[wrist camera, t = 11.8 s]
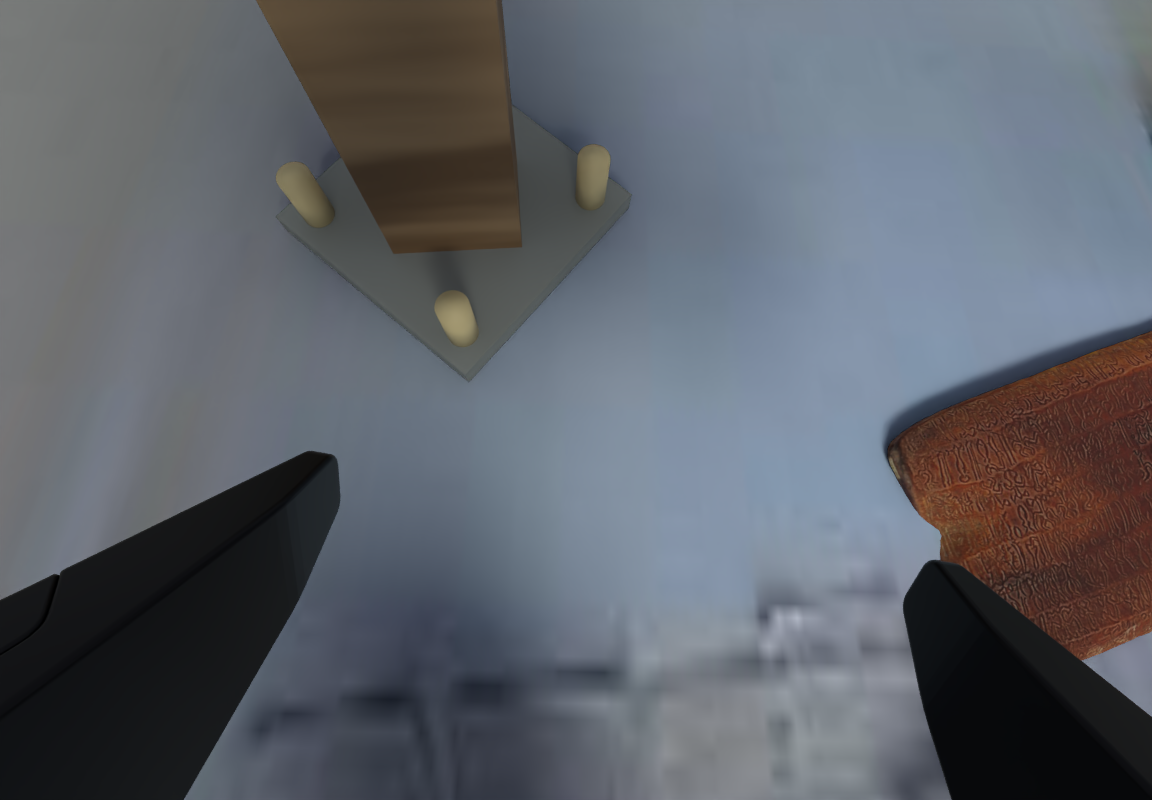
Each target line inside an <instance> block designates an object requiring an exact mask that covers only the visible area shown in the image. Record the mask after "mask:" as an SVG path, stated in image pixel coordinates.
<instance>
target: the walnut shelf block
mask: <svg viewBox="0 0 1152 800" xmlns="http://www.w3.org/2000/svg"><path fill="white" fill-rule="evenodd" d="M256 1H257V3H258V5H259V7H260V8H261V10H262V12H263V14H264V16H265V18H266V19H267V21H268V23H269V25H270V27H271V29H272V31H273V32H274V34H275V36H276V38H277V40H278V42H279V43H280V45H281V47H282V49H283V51H284V53H285V55H286V56H287V58H288V60H289V62H290V64H291V66H292V67H293V69H294V71H295V73H296V75H297V77H298V79H299V80H300V82H301V84H302V86H303V88H304V90H305V91H306V93H307V95H308V97H309V99H310V101H311V102H312V104H313V106H314V108H315V110H316V112H317V114H318V115H319V117H320V119H321V121H322V123H323V125H324V126H325V128H326V130H327V132H328V134H329V136H330V138H331V139H332V141H333V143H334V145H335V147H336V149H337V150H338V152H339V154H340V156H341V158H342V160H343V161H344V163H345V165H346V167H347V169H348V171H349V173H350V174H351V176H352V178H353V180H354V182H355V184H356V185H357V187H358V189H359V191H360V193H361V195H362V197H363V198H364V200H365V202H366V204H367V206H368V208H369V209H370V211H371V213H372V215H373V217H374V219H375V220H376V222H377V224H378V226H379V228H380V230H381V232H382V233H383V235H384V237H385V239H386V241H387V243H388V244H389V246H390V248H391V250H392V252H393V254H402V253H421V252H440V251H460V250H479V249H499V248H518V247H522V238H521V221H520V204H519V188H518V171H517V156H516V145H515V135H514V124H513V114H512V103H511V93H510V82H509V72H508V62H507V51H506V41H505V30H504V20H503V9H502V0H256Z"/></svg>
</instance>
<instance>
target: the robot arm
mask: <svg viewBox="0 0 1152 800" xmlns="http://www.w3.org/2000/svg"><path fill="white" fill-rule="evenodd" d="M339 505H340V484H339V470H338V461H337V459H336V457H335V456H333V455H332V454H326V453H321V452H315V451H307V452H304V453H302V454H300V455H298V456H296V457H294V458H292V459H290V460H288V461H285V462H283V463H281V464H279V465H277V466H275V467H273V468H271V469H269V470H267V471H265V472H263V473H261V474H259V475H257V476H255V477H253V478H251V479H249V480H247V481H244V482H242V483H240V484H238V485H236V486H234V487H232V488H230V489H228V490H226V491H224V492H222V493H220V494H218V495H216V496H214V497H212V498H210V499H208V500H205V501H203V502H201V503H199V504H197V505H195V506H193V507H191V508H189V509H187V510H185V511H183V512H181V513H179V514H177V515H175V516H173V517H171V518H169V519H167V520H164V521H162V522H160V523H158V524H156V525H154V526H152V527H150V528H148V529H146V530H144V531H142V532H140V533H138V534H136V535H134V536H132V537H130V538H128V539H126V540H123V541H121V542H119V543H117V544H115V545H113V546H111V547H109V548H107V549H105V550H103V551H101V552H99V553H97V554H95V555H93V556H91V557H89V558H87V559H84V560H82V561H80V562H78V563H76V564H74V565H72V566H70V567H68V568H66V569H64V570H62V571H61V573H60V575H57V574H54V575H51V576H49V577H47V578H45V579H43V580H41V581H39V582H37V583H35V584H33V585H31V586H29V587H27V588H25V589H23V590H21V591H18V592H16V593H14V594H12V595H10V596H8V597H6V598H3V599H1V600H0V800H184V798H185V797H186V795H187V793H188V791H189V790H190V788H191V786H192V784H193V783H194V781H195V779H196V778H197V776H198V774H199V772H200V771H201V769H202V767H203V765H204V764H205V762H206V760H207V759H208V757H209V755H210V753H211V752H212V750H213V748H214V746H215V745H216V743H217V741H218V740H219V738H220V736H221V734H222V733H223V731H224V729H225V727H226V726H227V724H228V722H229V721H230V719H231V717H232V715H233V714H234V712H235V710H236V708H237V707H238V705H239V703H240V701H241V700H242V698H243V696H244V695H245V693H246V691H247V689H248V688H249V686H250V684H251V682H252V681H253V679H254V677H255V676H256V674H257V672H258V670H259V669H260V667H261V665H262V663H263V662H264V660H265V658H266V657H267V655H268V653H269V651H270V650H271V648H272V646H273V644H274V643H275V641H276V639H277V638H278V636H279V634H280V632H281V631H282V629H283V627H284V625H285V624H286V622H287V620H288V618H289V617H290V615H291V613H292V611H293V610H294V608H295V606H296V604H297V602H298V600H299V598H300V596H301V594H302V592H303V590H304V588H305V585H306V583H307V581H308V579H309V576H310V574H311V572H312V569H313V567H314V565H315V563H316V560H317V558H318V556H319V553H320V551H321V549H322V546H323V544H324V542H325V540H326V537H327V535H328V533H329V530H330V528H331V526H332V523H333V521H334V519H335V517H336V514H337V512H338V509H339ZM903 613H904V618H905V623H906V628H907V633H908V638H909V642H910V647H911V652H912V657H913V662H914V667H915V672H916V677H917V682H918V687H919V691H920V696H921V700H922V704H923V708H924V712H925V716H926V719H927V723H928V726H929V729H930V733H931V736H932V739H933V742H934V745H935V748H936V752H937V755H938V758H939V761H940V764H941V767H942V771H943V774H944V777H945V780H946V783H947V787H948V790H949V793H950V796H951V799H952V800H1152V717H1151V716H1150V715H1149V714H1147V713H1146V712H1145V711H1144V710H1142V709H1141V708H1140V707H1139V706H1137V705H1136V704H1135V703H1134V702H1132V701H1131V700H1130V699H1129V698H1127V697H1126V696H1125V695H1124V694H1122V693H1121V692H1120V691H1118V690H1117V689H1116V688H1115V687H1113V686H1112V685H1111V684H1110V683H1108V682H1107V681H1106V680H1105V679H1103V678H1102V677H1101V676H1100V675H1098V674H1097V673H1096V672H1095V671H1093V670H1092V669H1091V668H1090V667H1088V666H1087V665H1086V664H1085V663H1083V662H1082V661H1081V660H1080V659H1078V658H1077V657H1076V656H1075V655H1073V654H1072V653H1071V652H1070V651H1068V650H1067V649H1066V648H1065V647H1063V646H1062V645H1061V644H1060V643H1058V642H1057V641H1056V640H1054V639H1053V638H1052V637H1051V636H1049V635H1048V634H1047V633H1046V632H1044V631H1043V630H1042V629H1041V628H1039V627H1038V626H1037V625H1036V624H1034V623H1033V622H1032V621H1031V620H1029V619H1028V618H1027V617H1026V616H1024V615H1023V614H1022V613H1021V612H1019V611H1018V610H1017V609H1016V608H1014V607H1013V606H1012V605H1011V604H1009V603H1008V602H1007V601H1006V600H1004V599H1003V598H1002V597H1001V596H999V595H998V594H997V593H996V592H994V591H993V590H992V589H991V588H989V587H988V586H987V585H985V584H984V583H983V582H982V581H980V580H979V579H978V578H977V577H975V576H974V575H973V574H972V573H970V572H969V571H968V570H967V569H965V568H964V567H963V566H961V565H959V564H956V563H951V562H946V561H940V560H930V561H928V562H927V563H925V565H924V566H923V567H922V569H921V571H920V572H919V574H918V576H917V577H916V579H915V580H914V582H913V584H912V585H911V587H910V588H909V590H908V592H907V593H906V595H905V598H904V602H903Z"/></svg>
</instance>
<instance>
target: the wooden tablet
mask: <svg viewBox="0 0 1152 800" xmlns="http://www.w3.org/2000/svg"><path fill="white" fill-rule="evenodd" d="M888 459H889V462H890V466H891V467H892V469H893V471H894V473H895V475H896V478H897V480H898V482H899V484H900V485H901V487H902V488H903V490H904V492H905V494H906V496H907V497H908V499H909V500H910V502H911V503H912V505H913V507H914V508H915V509H916V511H917V512H918V513H919V515H920V516H921V517H922V518H923V519H925V520H926V521H927V522H928V523H930V524H931V525H933V526H934V527H935V528H937V529H938V530H939V531H940V534H941V536H942V537H941V540H940V542H941V549H940V558H941V561H946V562H951V563H956V564H959V565H961V566H963V567H964V568H965V569H967V570H968V571H969V572H970V573H972V574H973V575H974V576H975V577H977V578H978V579H979V580H980V581H982V582H983V583H984V584H985V585H987V586H988V587H989V588H991V589H992V590H993V591H994V592H996V593H997V594H998V595H999V596H1001V597H1002V598H1003V599H1004V600H1006V601H1007V602H1008V603H1009V604H1011V605H1012V606H1013V607H1014V608H1016V609H1017V610H1018V611H1019V612H1021V613H1022V614H1023V615H1024V616H1026V617H1027V618H1028V619H1029V620H1031V621H1032V622H1033V623H1034V624H1036V625H1037V626H1038V627H1039V628H1041V629H1042V630H1043V631H1044V632H1046V633H1047V634H1048V635H1049V636H1051V637H1052V638H1053V639H1054V640H1056V641H1057V642H1058V643H1060V644H1061V645H1062V646H1063V647H1065V648H1066V649H1067V650H1068V651H1070V652H1071V653H1072V654H1073V655H1075V656H1076V657H1077V658H1078V659H1080V660H1081V661H1082V660H1084V659H1087V658H1090V657H1092V656H1095V655H1098V654H1100V653H1103V652H1105V651H1107V650H1109V649H1112V648H1114V647H1116V646H1118V645H1121V644H1123V643H1125V642H1128V641H1130V640H1132V639H1134V638H1136V637H1138V636H1142V635H1144V634H1147V633H1149V632H1151V631H1152V331H1150V332H1148V333H1145V334H1142V335H1139V336H1136V337H1134V338H1132V339H1129V340H1126V341H1122V342H1120V343H1117V344H1115V345H1112V346H1109V347H1106V348H1102V349H1099V350H1097V351H1094V352H1091V353H1089V354H1086V355H1084V356H1081V357H1079V358H1077V359H1074V360H1072V361H1069V362H1066V363H1063V364H1060V365H1058V366H1055V367H1052V368H1050V369H1047V370H1045V371H1043V372H1041V373H1038V374H1036V375H1033V376H1031V377H1028V378H1024V379H1021V380H1018V381H1016V382H1014V383H1012V384H1008V385H1005V386H1003V387H1000V388H997V389H995V390H992V391H989V392H986V393H983V394H981V395H979V396H976V397H973V398H970V399H968V400H965V401H963V402H960V403H958V404H956V405H953V406H951V407H949V408H946V409H943V410H941V411H939V412H937V413H935V414H933V415H931V416H929V417H927V418H924V419H922V420H921V421H919V422H917V423H915V424H914V425H912V426H911V427H910V428H908V429H906V430H905V431H904V432H902V433H901V434H899V435H898V436H897V437H896V438H895V439H894V440H893V441H891V443H890V445H889V447H888Z"/></svg>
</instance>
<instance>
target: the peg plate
mask: <svg viewBox="0 0 1152 800" xmlns="http://www.w3.org/2000/svg"><path fill="white" fill-rule="evenodd" d="M512 114H513V124H514V135H515V145H516V156H517V171H518V188H519V204H520V221H521V238H522V247H518V248H499V249H479V250H460V251H440V252H421V253H402V254H393V252H392V250H391V248H390V246H389V244H388V243H387V241H386V239H385V237H384V235H383V233H382V232H381V230H380V228H379V226H378V224H377V222H376V220H375V219H374V217H373V215H372V213H371V211H370V209H369V208H368V206H367V204H366V202H365V200H364V198H363V197H362V195H361V193H360V191H359V189H358V187H357V185H356V184H355V182H354V180H353V178H352V176H351V174H350V173H349V171H348V169H347V167H346V165H345V163H344V161H343V160H342V158H341V157H340V158H339V159H338V160H337V161H336V162H335V163H334V164H332V165H331V166H330V167H329V168H328V169H327V170H326V171H325V172H324V173H323V174H322V175H321V176H319V177H318V178H317V179H316V180H315V178H314V176H313V175H312V173H311V172H310V170H309V169H308V167H307V166H306V165H304V164H303V163H300V162H289V163H286V164H284V165H283V166H282V167H280V169H279V170H278V172H277V174H276V182H277V184H278V186H279V187H280V188H281V190H282V191H283V192H284V193H285V195H286V196H287V197H288V199H289V200H290V201H291V203H290V204H289V205H288V206H287V207H286V208H285V209H284V210H282V211H281V212H280V213H279V214H278V215H277V216H276V218H277V219H278V220H279V222H280V223H281V224H282V225H283V226H284V228H285V229H286V230H287V231H288V232H290V233H291V234H292V235H293V236H294V237H295V238H297V239H298V240H299V241H300V242H301V243H303V244H304V245H305V246H306V247H307V248H309V249H310V250H311V251H312V252H313V253H315V254H316V255H317V256H318V257H319V258H321V259H322V260H323V261H324V262H325V263H327V264H328V265H329V266H330V267H331V268H333V269H334V270H335V271H336V272H337V273H339V274H340V275H341V276H342V277H343V278H345V279H346V280H347V281H348V282H349V283H351V284H352V285H353V286H354V287H355V288H357V289H358V290H359V291H360V292H361V293H363V294H364V295H365V296H366V297H367V298H369V299H370V300H371V301H372V302H373V303H375V304H376V305H377V306H378V307H379V308H381V309H382V310H383V311H384V312H385V313H386V314H388V315H389V316H390V317H391V318H392V319H394V320H395V321H396V322H397V323H398V324H400V325H401V326H402V327H403V328H404V329H406V330H407V331H408V332H409V333H410V334H412V335H413V336H414V337H415V338H416V339H418V340H419V341H420V342H421V343H422V344H424V345H425V346H426V347H427V348H428V349H430V350H431V351H432V352H433V353H434V354H436V355H437V356H438V357H439V358H440V359H442V360H443V361H444V362H445V363H446V364H448V365H449V366H450V367H451V368H452V369H454V370H455V371H456V372H457V373H458V374H460V375H461V376H462V377H463V378H464V379H466V380H467V381H468V382H469V381H470V380H471V379H472V378H473V377H474V376H475V375H476V374H477V373H478V372H479V371H480V369H481V368H482V367H483V366H484V365H485V364H486V363H487V362H488V361H489V360H490V359H491V357H492V356H493V355H494V354H495V353H496V352H497V351H498V350H499V349H500V348H501V347H502V345H503V344H504V343H505V342H506V341H507V340H508V339H509V338H510V337H511V336H512V335H513V334H514V332H515V331H516V330H517V329H518V328H519V327H520V326H521V325H522V324H523V323H524V322H525V320H526V319H527V318H528V317H529V316H530V315H531V314H532V313H533V312H534V311H535V310H536V308H537V307H538V306H539V305H540V304H541V303H542V302H543V301H544V300H545V299H546V298H547V296H548V295H549V294H550V293H551V292H552V291H553V290H554V289H555V288H556V287H557V286H558V284H559V283H560V282H561V281H562V280H563V279H564V278H565V277H566V276H567V275H568V274H569V272H570V271H571V270H572V269H573V268H574V267H575V266H576V265H577V264H578V263H579V262H580V260H581V259H582V258H583V257H584V256H585V255H586V254H587V253H588V252H589V251H590V250H591V248H592V247H593V246H594V245H595V244H596V243H597V242H598V241H599V240H600V239H601V238H602V236H603V235H604V234H605V233H606V232H607V231H608V230H609V229H610V228H611V227H612V226H613V224H614V223H615V222H616V221H617V220H618V219H619V218H620V217H621V216H622V215H623V214H624V212H625V211H626V210H627V209H628V208H629V204H630V200H631V195H632V194H630V193H629V192H628V191H626V190H625V189H624V188H622V187H621V186H620V185H618V184H617V183H616V182H614V181H613V180H612V179H610V178H609V177H608V173H609V167H610V154H609V152H608V151H607V150H606V149H605V148H604V147H602V146H600V145H596V144H591V145H587V146H585V147H583V148H582V149H581V150H580V152H579V154H577V153H576V152H574V151H573V150H572V149H570V148H569V147H568V146H566V145H565V144H564V143H562V142H561V141H560V140H558V139H557V138H556V137H554V136H553V135H552V134H550V133H549V132H548V131H546V130H545V129H544V128H542V127H541V126H540V125H538V124H537V123H536V122H534V121H533V120H532V119H530V118H529V117H528V116H526V115H525V114H524V113H522V112H521V111H520V110H518V109H517V108H516V107H514V106H513V105H512Z"/></svg>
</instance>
